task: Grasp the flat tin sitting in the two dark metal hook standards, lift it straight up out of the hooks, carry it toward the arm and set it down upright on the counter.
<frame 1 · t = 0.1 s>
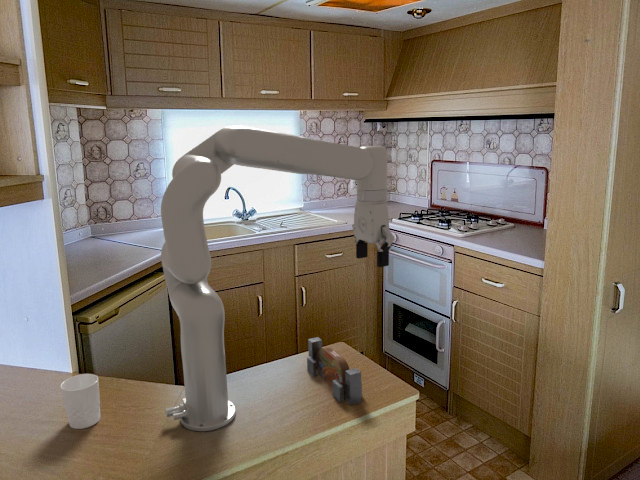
hand: (372, 261, 133), 31 cm above the worktop, tool pointing down, fingers open, 9 cm apart
tin: (333, 383, 135), on the worktop
white cup: (85, 421, 120), on the worktop
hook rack: (333, 382, 134), on the worktop
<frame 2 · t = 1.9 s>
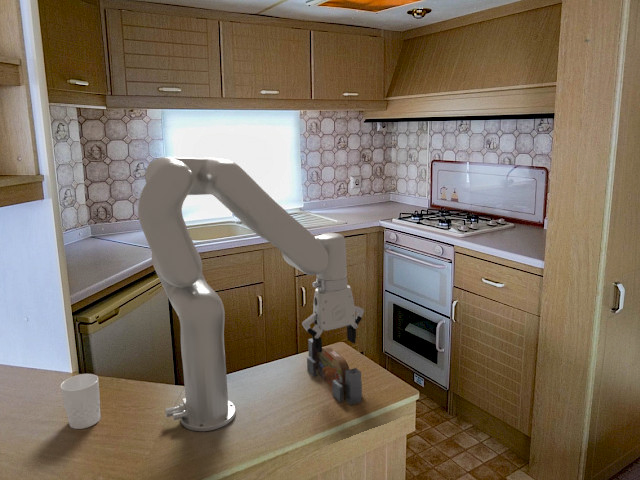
hand: (335, 346, 132), 10 cm above the worktop, tool pointing down, fingers open, 9 cm apart
nothing on the worktop moved.
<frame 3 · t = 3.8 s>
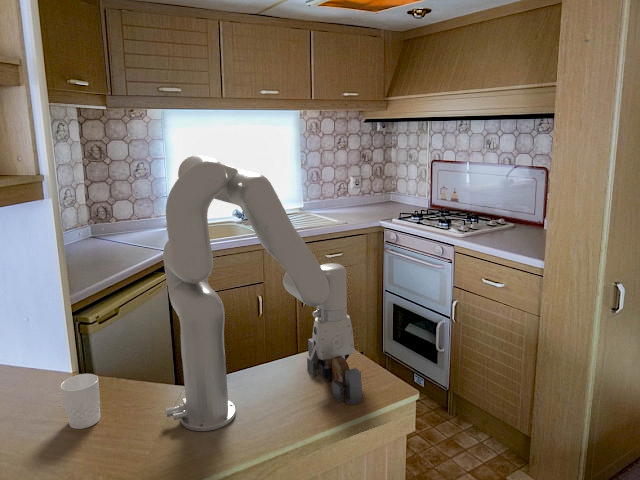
hand: (333, 378, 134), 1 cm above the worktop, tool pointing down, fingers closed on tin, 2 cm apart
tin: (333, 383, 135), on the worktop, touching gripper
everything else where it was.
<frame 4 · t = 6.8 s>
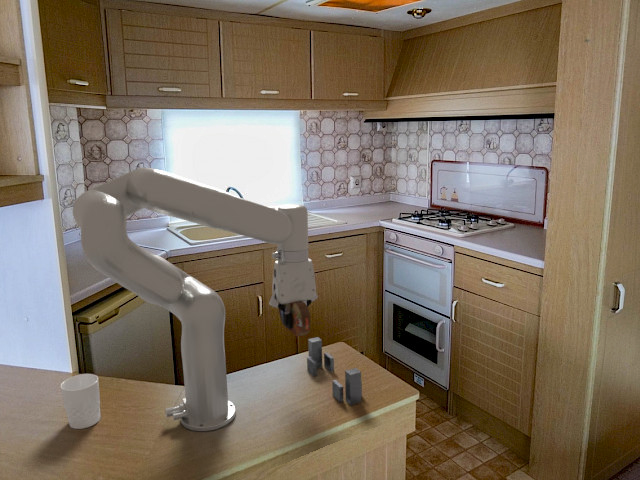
hand: (294, 325, 129), 17 cm above the worktop, tool pointing down, fingers closed on tin, 2 cm apart
tin: (295, 330, 130), point 15 cm above the worktop, touching gripper
everything else where it was.
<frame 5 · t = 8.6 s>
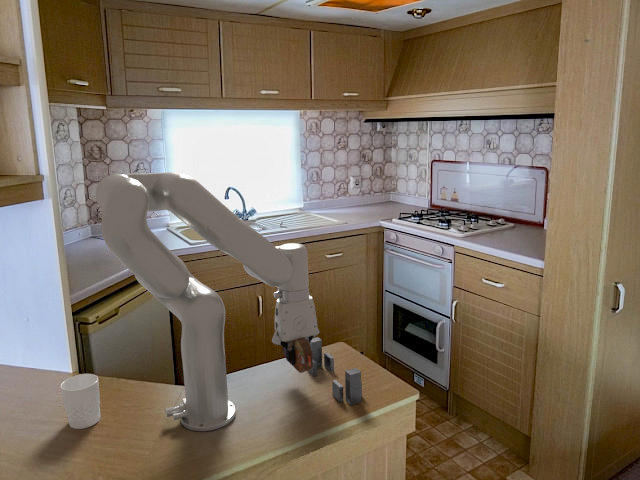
hand: (297, 360, 132), 7 cm above the worktop, tool pointing down, fingers closed on tin, 2 cm apart
tin: (298, 365, 132), point 6 cm above the worktop, touching gripper
everything else where it was.
when the fingers open (3 cm above the worktop, at t = 10.1 s): tin drops 1 cm, on the worktop.
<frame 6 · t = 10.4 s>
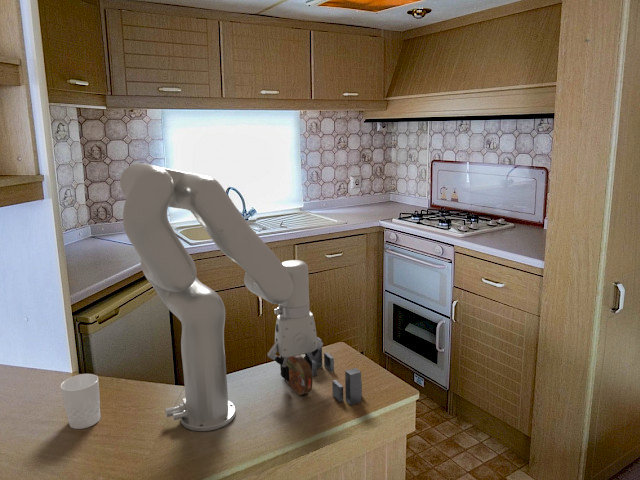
hand: (296, 375, 133), 3 cm above the worktop, tool pointing down, fingers open, 5 cm apart
tin: (297, 386, 133), on the worktop
everything else where it was.
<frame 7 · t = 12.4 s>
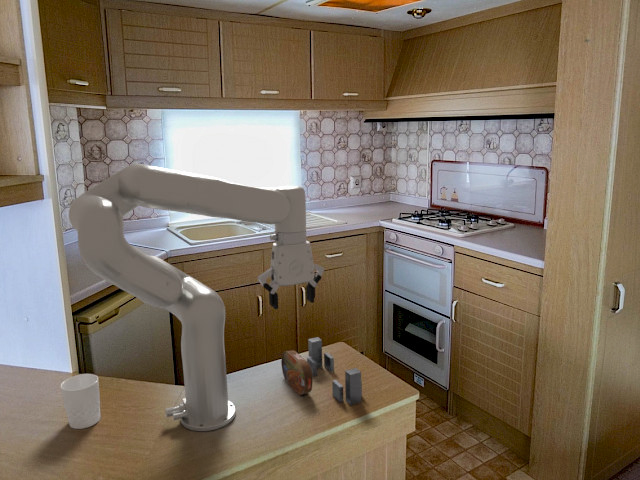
hand: (292, 304, 128), 22 cm above the worktop, tool pointing down, fingers open, 9 cm apart
nothing on the worktop moved.
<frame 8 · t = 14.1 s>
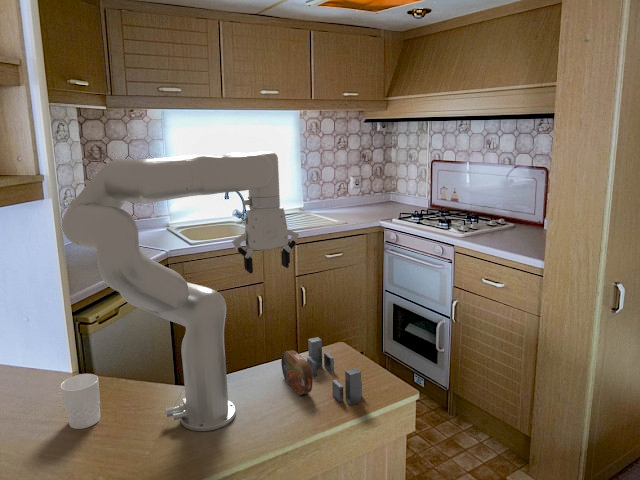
hand: (267, 269, 131), 30 cm above the worktop, tool pointing down, fingers open, 9 cm apart
nothing on the worktop moved.
at the end: tin inside the target area (0.1 cm from its centre), on the worktop; tin tilted 0°; the gripper is holding nothing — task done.
